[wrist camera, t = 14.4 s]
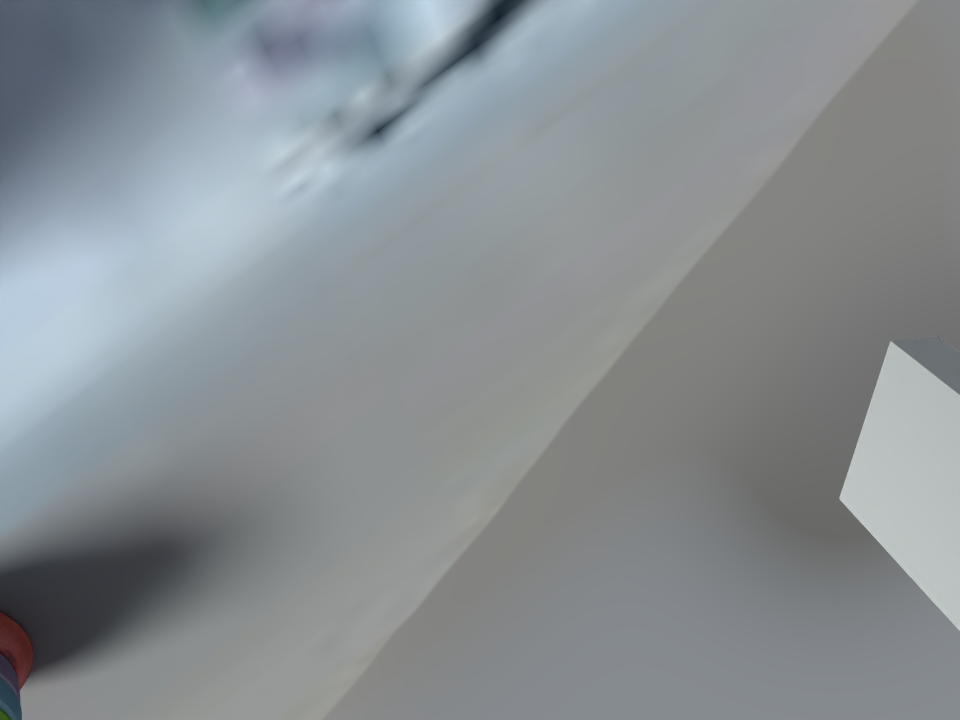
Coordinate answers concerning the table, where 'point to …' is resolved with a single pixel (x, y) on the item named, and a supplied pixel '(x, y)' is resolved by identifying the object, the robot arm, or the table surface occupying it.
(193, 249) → the table surface
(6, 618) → the stacking bear
